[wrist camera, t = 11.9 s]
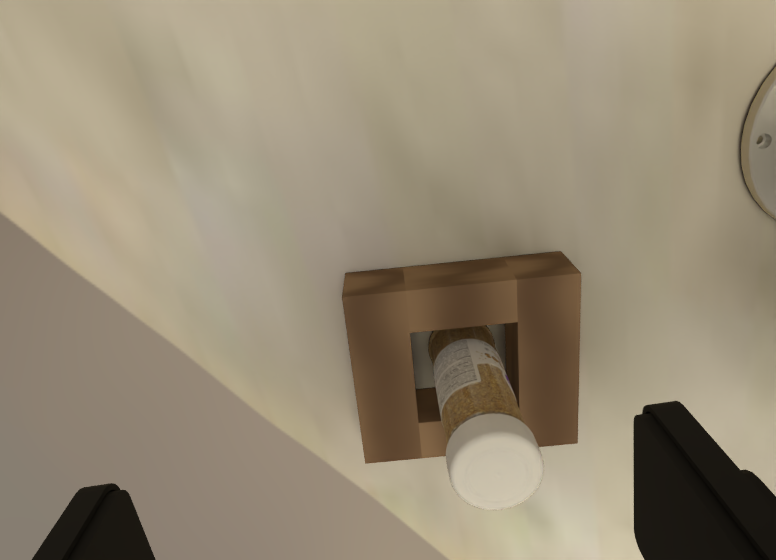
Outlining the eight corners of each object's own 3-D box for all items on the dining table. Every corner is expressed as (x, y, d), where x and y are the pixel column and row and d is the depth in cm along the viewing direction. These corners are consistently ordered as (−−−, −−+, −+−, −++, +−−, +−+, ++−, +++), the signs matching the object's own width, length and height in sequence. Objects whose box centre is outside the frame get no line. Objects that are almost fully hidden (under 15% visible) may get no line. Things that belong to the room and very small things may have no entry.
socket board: (560, 251, 38) (581, 273, 34) (559, 408, 42) (577, 443, 39) (345, 273, 38) (342, 297, 35) (366, 427, 43) (365, 463, 39)
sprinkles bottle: (505, 351, 41) (563, 486, 28) (448, 384, 41) (481, 528, 29) (471, 301, 39) (516, 419, 27) (413, 335, 40) (431, 466, 27)
